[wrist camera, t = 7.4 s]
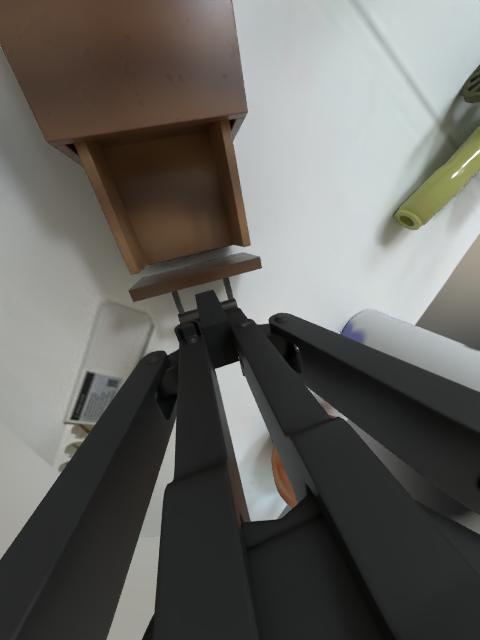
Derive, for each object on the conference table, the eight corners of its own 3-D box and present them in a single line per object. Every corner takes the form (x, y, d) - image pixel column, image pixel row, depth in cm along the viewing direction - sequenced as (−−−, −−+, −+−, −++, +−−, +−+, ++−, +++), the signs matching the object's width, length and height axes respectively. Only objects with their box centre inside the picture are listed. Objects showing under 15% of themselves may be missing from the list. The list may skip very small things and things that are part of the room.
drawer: (251, 293, 30) (268, 308, 24) (159, 319, 28) (151, 342, 22) (219, 124, 22) (232, 81, 16) (87, 145, 20) (44, 105, 14)
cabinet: (227, 152, 24) (248, 112, 16) (95, 175, 22) (46, 142, 14) (185, -75, 17) (186, -325, 10) (-9, -72, 15) (-207, -390, 8)
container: (391, 329, 41) (553, 402, 23) (354, 364, 42) (481, 460, 24) (370, 298, 37) (548, 358, 19) (330, 338, 38) (461, 430, 20)
